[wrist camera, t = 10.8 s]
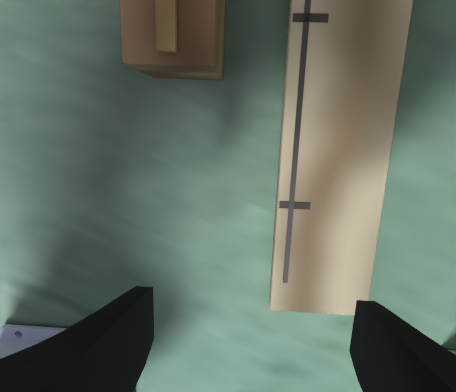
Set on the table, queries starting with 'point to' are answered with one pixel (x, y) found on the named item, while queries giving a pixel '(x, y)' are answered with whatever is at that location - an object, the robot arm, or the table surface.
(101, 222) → the table surface
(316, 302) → the birch plank
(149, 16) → the brown small block
